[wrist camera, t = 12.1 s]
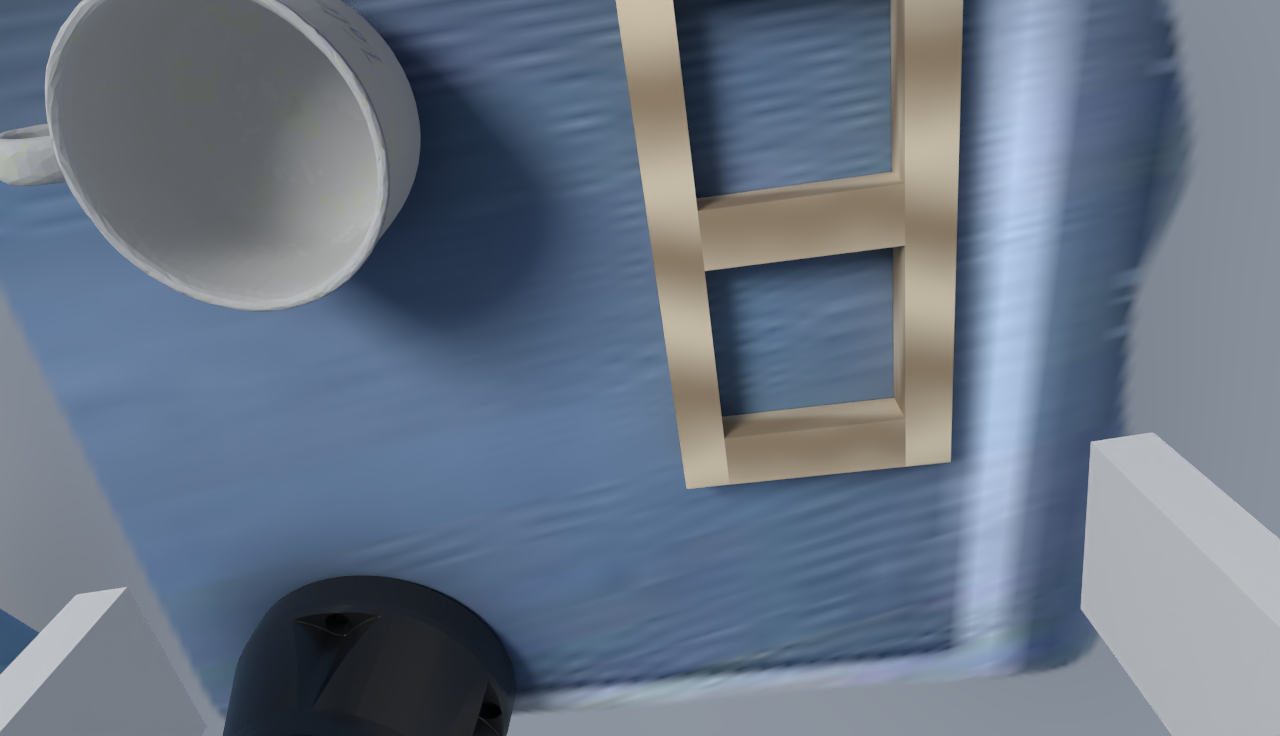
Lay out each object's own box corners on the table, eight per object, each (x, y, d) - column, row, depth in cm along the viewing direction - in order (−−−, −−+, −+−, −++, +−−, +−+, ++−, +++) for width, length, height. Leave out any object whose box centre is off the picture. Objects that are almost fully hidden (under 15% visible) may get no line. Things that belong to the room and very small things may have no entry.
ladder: (937, 439, 38) (952, 465, 36) (686, 465, 39) (686, 492, 37) (955, -558, 23) (983, -610, 21) (551, -469, 24) (541, -511, 22)
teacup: (451, -8, 30) (383, -2, 23) (442, 264, 35) (383, 338, 28) (78, -65, 30) (-111, -78, 23) (121, 217, 34) (-23, 281, 27)
